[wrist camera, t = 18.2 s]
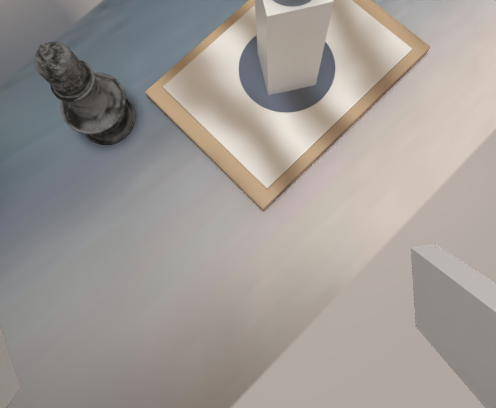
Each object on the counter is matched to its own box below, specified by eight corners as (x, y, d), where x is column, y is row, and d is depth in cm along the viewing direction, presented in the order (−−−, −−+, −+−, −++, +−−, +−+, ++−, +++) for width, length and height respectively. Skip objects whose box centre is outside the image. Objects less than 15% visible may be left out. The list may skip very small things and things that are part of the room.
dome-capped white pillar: (268, 95, 38) (266, -18, 24) (257, 52, 39) (250, -79, 25) (315, 85, 38) (341, -35, 24) (304, 42, 39) (322, -95, 25)
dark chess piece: (143, 94, 40) (90, 11, 28) (131, 151, 39) (71, 89, 27) (86, 88, 40) (11, 4, 29) (72, 144, 39) (-12, 80, 27)
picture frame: (263, 211, 37) (262, 208, 35) (147, 97, 40) (143, 90, 38) (426, 53, 39) (432, 44, 38) (305, -44, 42) (307, -55, 41)
